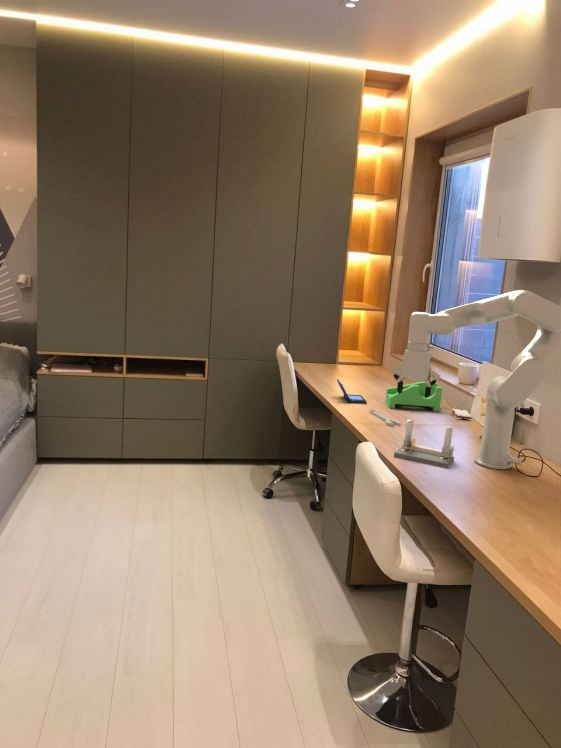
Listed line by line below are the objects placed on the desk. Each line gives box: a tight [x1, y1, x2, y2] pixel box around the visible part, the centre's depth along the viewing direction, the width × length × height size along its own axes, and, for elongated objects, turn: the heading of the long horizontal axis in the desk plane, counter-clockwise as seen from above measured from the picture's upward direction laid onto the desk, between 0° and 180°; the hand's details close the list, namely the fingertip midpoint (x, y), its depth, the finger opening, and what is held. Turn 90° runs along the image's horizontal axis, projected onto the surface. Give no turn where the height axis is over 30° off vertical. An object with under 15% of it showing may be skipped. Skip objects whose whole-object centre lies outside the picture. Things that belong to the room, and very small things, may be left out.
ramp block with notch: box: [385, 381, 443, 412], centre depth 305 cm, size 24×13×12 cm, turn 88°
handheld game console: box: [336, 378, 367, 405], centre depth 311 cm, size 16×13×9 cm
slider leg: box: [402, 418, 416, 450], centre depth 227 cm, size 3×6×11 cm, turn 152°
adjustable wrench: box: [369, 409, 401, 427], centre depth 278 cm, size 25×6×2 cm, turn 12°
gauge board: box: [393, 425, 455, 469], centre depth 222 cm, size 19×10×13 cm, turn 62°
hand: (413, 395), depth 223 cm, fingers open, 9 cm apart
